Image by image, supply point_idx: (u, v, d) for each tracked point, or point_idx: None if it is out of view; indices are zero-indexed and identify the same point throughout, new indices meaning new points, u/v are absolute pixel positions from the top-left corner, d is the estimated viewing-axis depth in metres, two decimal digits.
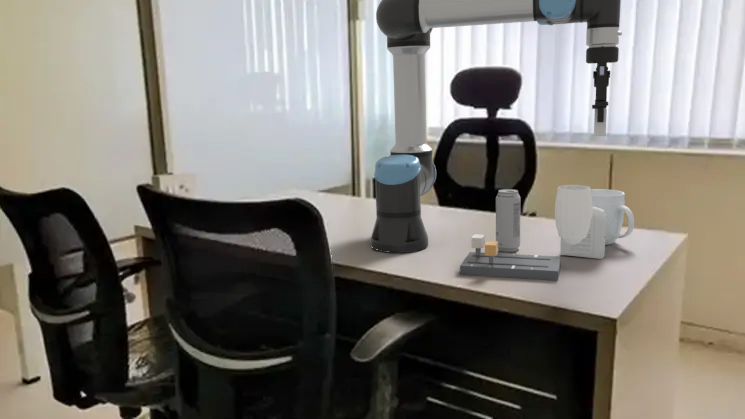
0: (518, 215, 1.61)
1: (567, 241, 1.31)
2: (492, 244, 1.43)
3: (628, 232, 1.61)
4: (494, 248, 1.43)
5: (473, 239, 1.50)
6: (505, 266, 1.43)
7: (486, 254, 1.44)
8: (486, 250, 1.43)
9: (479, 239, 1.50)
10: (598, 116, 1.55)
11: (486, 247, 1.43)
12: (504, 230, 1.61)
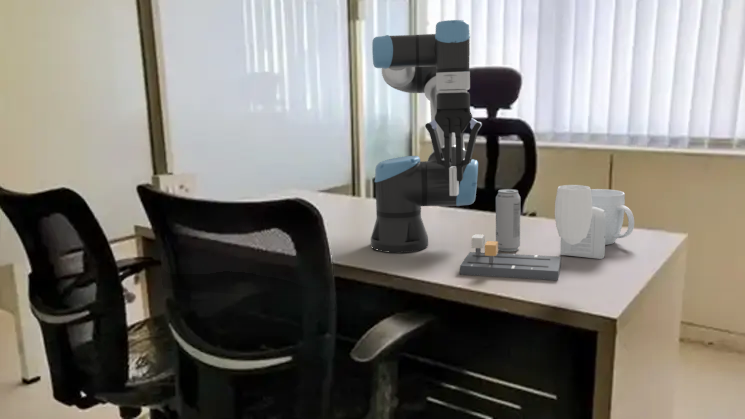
0: (518, 215, 1.61)
1: (567, 241, 1.31)
2: (492, 244, 1.43)
3: (628, 232, 1.61)
4: (494, 248, 1.43)
5: (473, 239, 1.50)
6: (505, 266, 1.43)
7: (486, 254, 1.44)
8: (486, 250, 1.43)
9: (479, 239, 1.50)
10: None
11: (486, 247, 1.43)
12: (504, 230, 1.61)
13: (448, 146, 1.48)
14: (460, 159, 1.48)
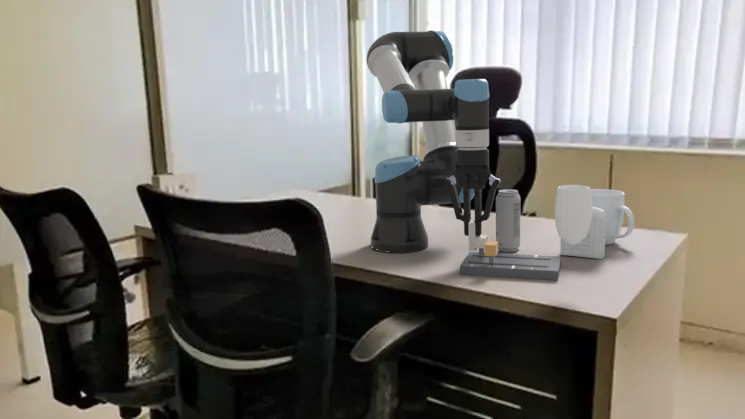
0: (518, 215, 1.61)
1: (567, 241, 1.31)
2: (492, 244, 1.43)
3: (628, 232, 1.61)
4: (494, 248, 1.43)
5: (476, 239, 1.50)
6: (505, 266, 1.43)
7: (486, 254, 1.44)
8: (486, 250, 1.43)
9: (483, 239, 1.49)
10: None
11: (486, 247, 1.43)
12: (504, 230, 1.61)
13: (467, 202, 1.49)
14: (479, 215, 1.49)
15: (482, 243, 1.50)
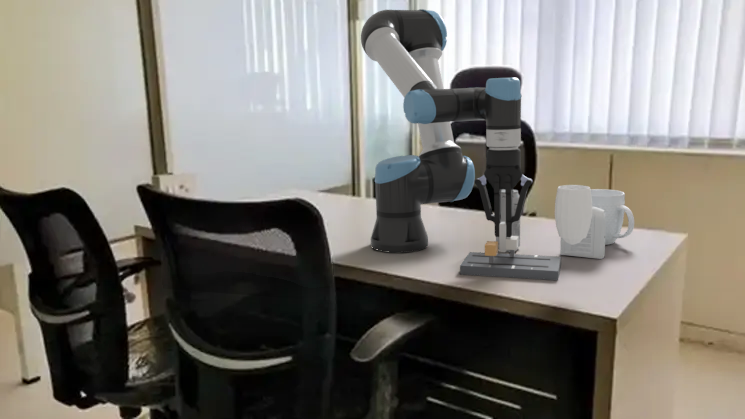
0: None
1: (567, 241, 1.31)
2: (492, 244, 1.43)
3: (628, 232, 1.61)
4: (494, 248, 1.43)
5: (507, 240, 1.48)
6: (505, 266, 1.43)
7: (486, 254, 1.44)
8: (486, 250, 1.43)
9: (514, 241, 1.47)
10: None
11: (486, 247, 1.43)
12: None
13: (498, 202, 1.47)
14: (510, 216, 1.47)
15: (513, 244, 1.47)
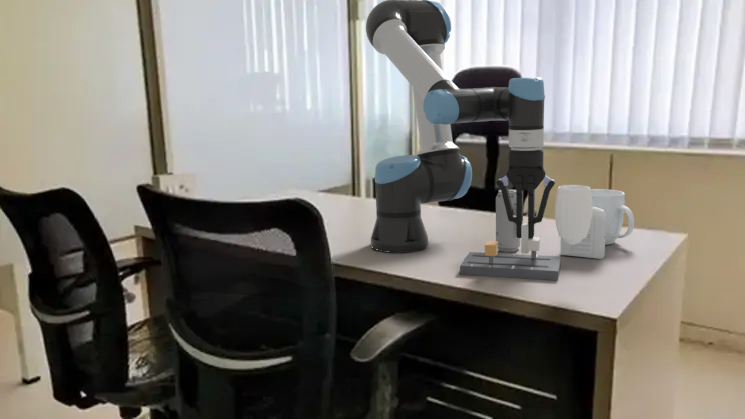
0: None
1: (567, 241, 1.31)
2: (492, 244, 1.43)
3: (628, 232, 1.61)
4: (494, 248, 1.43)
5: (529, 241, 1.46)
6: (505, 266, 1.43)
7: (486, 254, 1.44)
8: (486, 250, 1.43)
9: (536, 241, 1.46)
10: None
11: (486, 247, 1.43)
12: (504, 230, 1.61)
13: (520, 203, 1.45)
14: (532, 217, 1.45)
15: (535, 245, 1.46)
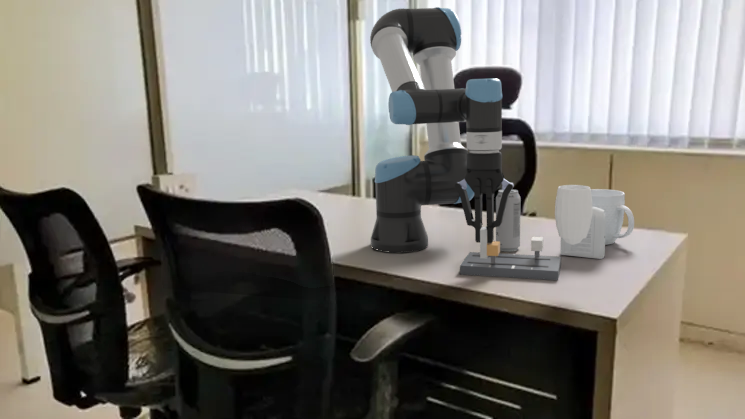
0: (518, 215, 1.61)
1: (567, 241, 1.31)
2: (494, 244, 1.43)
3: (628, 232, 1.61)
4: (496, 248, 1.43)
5: (533, 242, 1.46)
6: (505, 266, 1.43)
7: (488, 254, 1.43)
8: (488, 250, 1.43)
9: (539, 242, 1.45)
10: None
11: (488, 247, 1.43)
12: (504, 230, 1.61)
13: (479, 207, 1.42)
14: (491, 221, 1.42)
15: (538, 246, 1.45)
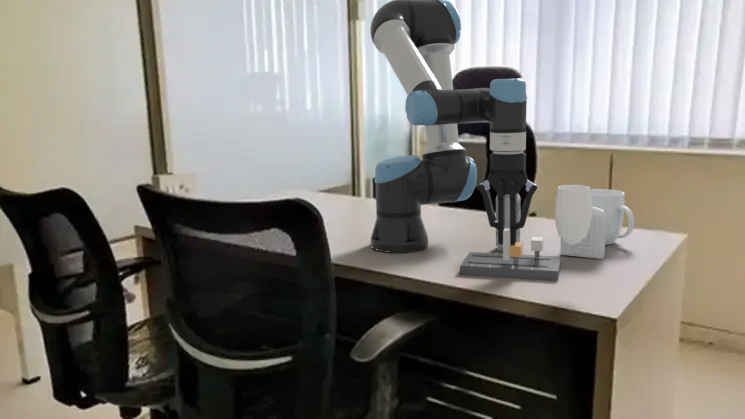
0: (518, 215, 1.61)
1: (567, 241, 1.31)
2: (517, 245, 1.42)
3: (628, 232, 1.61)
4: (519, 249, 1.41)
5: (533, 242, 1.46)
6: (505, 266, 1.43)
7: (511, 255, 1.42)
8: (511, 251, 1.42)
9: (539, 242, 1.45)
10: None
11: (511, 248, 1.42)
12: None
13: (502, 208, 1.41)
14: (514, 222, 1.41)
15: (538, 246, 1.45)
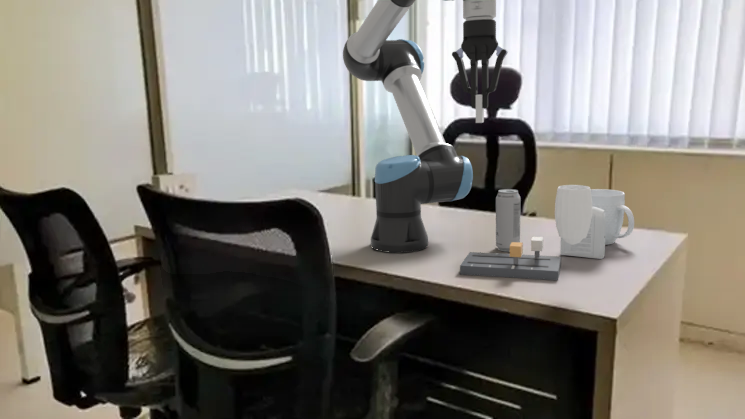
0: (518, 215, 1.61)
1: (567, 241, 1.31)
2: (517, 245, 1.42)
3: (628, 232, 1.61)
4: (519, 249, 1.41)
5: (533, 242, 1.46)
6: (505, 266, 1.43)
7: (511, 255, 1.42)
8: (511, 251, 1.42)
9: (539, 242, 1.45)
10: None
11: (511, 248, 1.42)
12: (504, 230, 1.61)
13: (474, 73, 1.52)
14: (486, 86, 1.52)
15: (538, 246, 1.45)
